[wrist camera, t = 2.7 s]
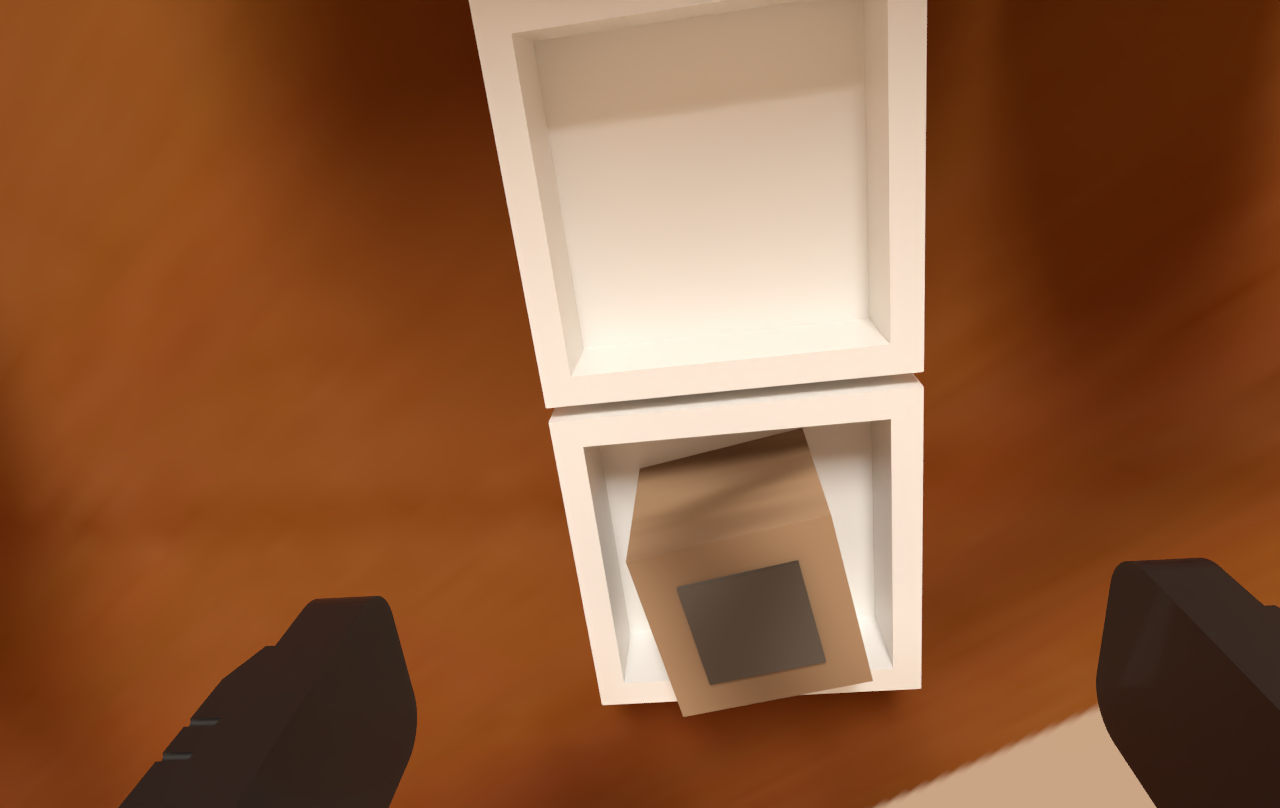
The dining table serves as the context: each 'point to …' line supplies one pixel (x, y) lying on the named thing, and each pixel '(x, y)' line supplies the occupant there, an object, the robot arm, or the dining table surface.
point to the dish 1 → (712, 189)
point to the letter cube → (744, 576)
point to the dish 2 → (692, 424)
